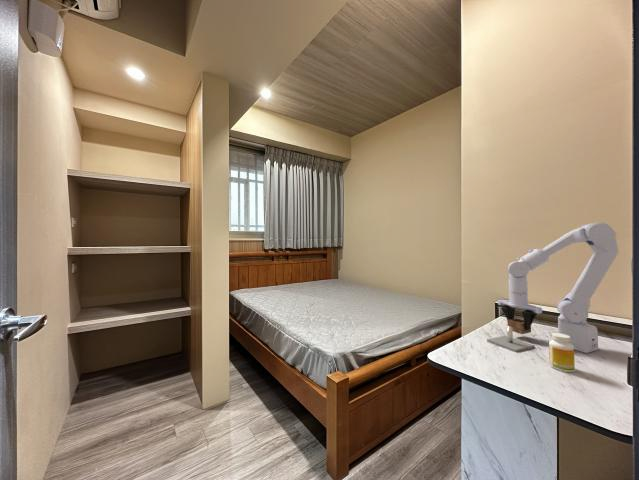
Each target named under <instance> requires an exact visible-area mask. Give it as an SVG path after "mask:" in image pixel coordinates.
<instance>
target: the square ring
mask: <svg viewBox="0 0 639 480" xmlns="http://www.w3.org/2000/svg"><path fill="white" fill-rule="evenodd" d="M506 320H507V319H506ZM508 326H511V327H512V329H513V332H514V333H517V334H520V335H525V334H529V333H532V327H531V328H530V330H525V328H524V319H522V318H515V317H514V319H509V320H507V327H508Z"/></svg>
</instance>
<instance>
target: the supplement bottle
mask: <svg viewBox="0 0 639 480" xmlns="http://www.w3.org/2000/svg"><path fill="white" fill-rule="evenodd" d="M551 338H552V339H551V340H550V341H549V342H548V351H549V352H548V353H549V354H548V355H549V357H548V361H549V366H550V367H551V368H553V369H555V370H557V371H560V372H564V373H573V372H575V371H576V367H575V349H574V346H573V345H572V344H571V343H570V342H571V338H570V336H568V335H565V334H560V333H558V332H553V333H551Z"/></svg>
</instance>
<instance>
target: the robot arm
mask: <svg viewBox="0 0 639 480" xmlns="http://www.w3.org/2000/svg"><path fill="white" fill-rule="evenodd" d="M616 237H617V232H616V231H615V230H614V229H613V227H612V226H611V225H609V224H608V223H605V222H601V221H600V222H593V223H586V224H582V225H580V226H579V227H577V228H574V229H573V230H570V231H568V232H567V233H565V234H564V235H562V236H561V237H559V238H557V239H556V240H554V241H553V242H551V243H550V244H548V245H546V246H545V247H543V248H535V249H529V250H528V251H527V253H526V254H525V255H523V256H521V257H516V258H515V259H516V261H512V262H510V263H509V264H508V265H507V268H506V269H507V272H508V274H509V275H508V300H505V299H498V300H497V305H499V306H501V307H500V308H501V310H502V312H503V313H504V315H505V318H506V320H509V319H514V318H515V313H516V309H518V310H522V311H521V313H522V318H523V320H524V328H525V330H530V328H531V329H532V324H533V321H534V319H535V318H536V316H537V315H538V314H542V313H543V307H539V306H536V305H532V304H530V303H529V300H528V299H529V298H528V297H529V294H528V280H527V276H528V274H529V271H533V270H535V269H536V268H539V267H540V266H542V265H544V264H545V263H547V262H549V260H550V256H552V255H553V254H556V253H557V252H559V251H561V250H563V249H564V248H567V247H568V246H571V245H572V244H576V243H583V242H584V243H586V244H587V245H588V246H589V247H590V249H591V250H592V251H593V253H592V255H591V257H590V258H589V261H588V262H587V263H586V266H585V267H584V269H583V271H582V272H581V273H580V276H579V277H578V279H577V280H576V282H575V284H574V286H573V288H572V289H571V291H570V292H568V293H567V294H566V295H565V297H564V298H562V299H561V300H558V302H557V303H556V310H557V311H558V312H559V315H558V317H557V321H558V322H557V326H558V327H557V331H558V332H557V333H560V334H565V335H568V336H570V338H571V342H570V343H571V344H572V345H573V346H574V351H578V352H582V353H585V354H588V353H592V352H595V351H598V350H600V347H599V331H598V328H597V327H596V326H595V325H593V324H590V323H588V322H587V319H588V318H589V309H590V307H591V298H592V297H593V295H594V293H595V292H596V291H597V289H598V287H599V286H600V284H601V282H602V280H603V279H604V278H605V276H606V274H607V272H608V271H609V269H610V268H611V266H612V264H613V263H614V261H615V259H616V258H617V257H618V254H619V248H618V243H617V239H616Z"/></svg>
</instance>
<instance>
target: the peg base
mask: <svg viewBox="0 0 639 480" xmlns="http://www.w3.org/2000/svg"><path fill="white" fill-rule="evenodd" d="M513 335H514V333H513V329H512V327H511V326H508V325H507V327H506V335H501V336H498V337H497V336H496V337H493V338H488V339H486V342H487V343H490V344H492V345H495V346H499V347H501V348H503V349H506V350H509V351H511V352H514V353H518V352H523V351H526V350H530V349H534V348H535V347H536V346H535V344H531V343H529V342H526V341H522V340H520V339H517V338H514V337H513Z"/></svg>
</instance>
